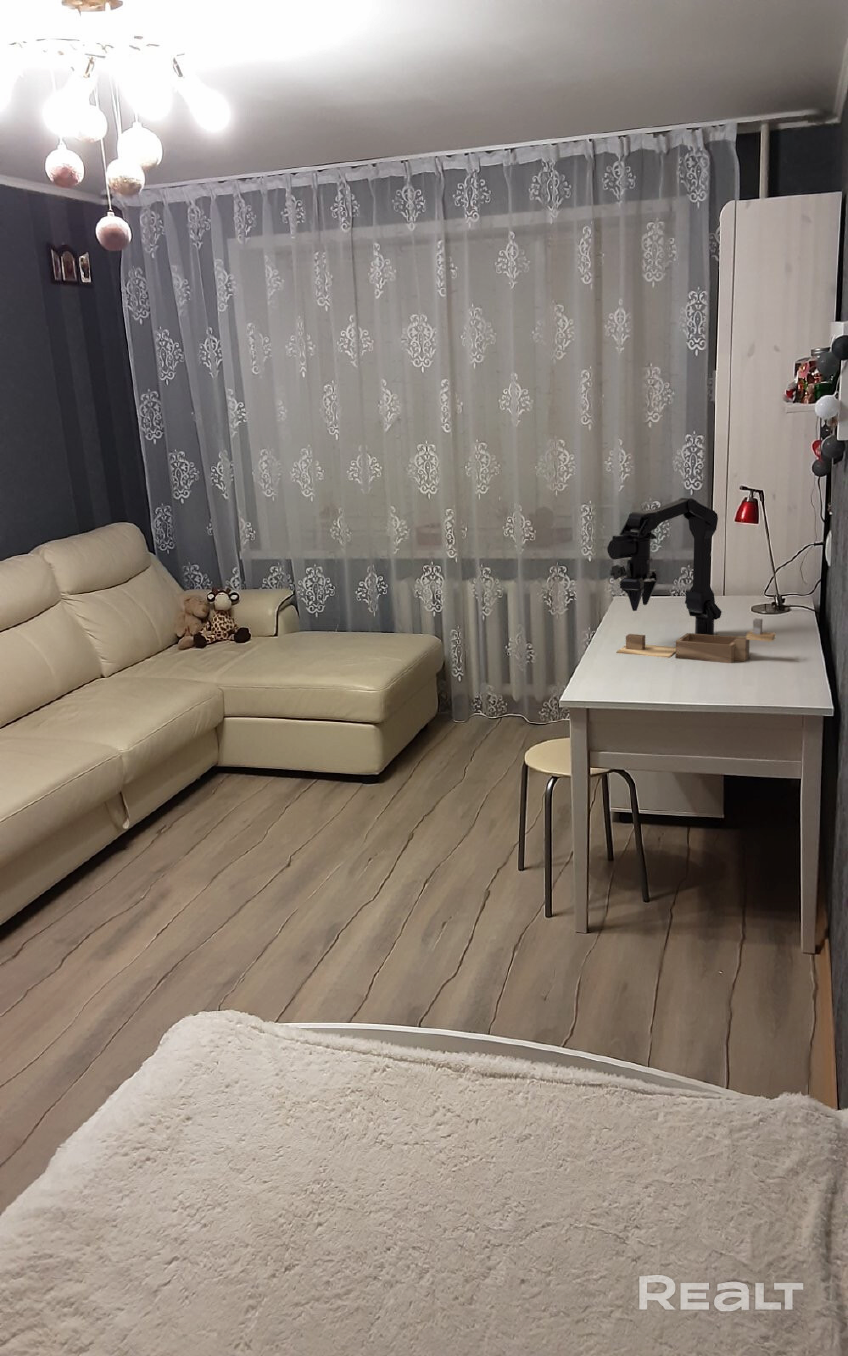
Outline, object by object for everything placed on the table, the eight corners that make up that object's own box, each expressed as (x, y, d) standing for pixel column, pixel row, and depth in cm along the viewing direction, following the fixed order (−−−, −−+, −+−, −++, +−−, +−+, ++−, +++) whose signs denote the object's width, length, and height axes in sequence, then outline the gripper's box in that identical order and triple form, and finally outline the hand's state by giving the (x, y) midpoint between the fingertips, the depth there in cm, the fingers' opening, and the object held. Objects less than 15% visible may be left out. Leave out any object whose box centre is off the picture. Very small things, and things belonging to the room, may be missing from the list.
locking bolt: (749, 636, 301) (750, 617, 299) (775, 638, 297) (776, 619, 296) (746, 639, 297) (747, 620, 296) (771, 641, 294) (772, 622, 292)
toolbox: (686, 649, 315) (687, 629, 313) (751, 654, 305) (752, 634, 304) (675, 658, 306) (675, 637, 304) (741, 663, 296) (742, 643, 295)
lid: (629, 646, 324) (629, 630, 322) (680, 650, 316) (680, 634, 314) (616, 654, 315) (616, 638, 313) (668, 659, 307) (669, 642, 305)
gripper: (625, 549, 321) (624, 600, 325) (602, 559, 305) (602, 612, 310) (660, 551, 315) (660, 602, 319) (639, 561, 300) (639, 614, 304)
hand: (639, 607), depth 313 cm, fingers open, 9 cm apart
